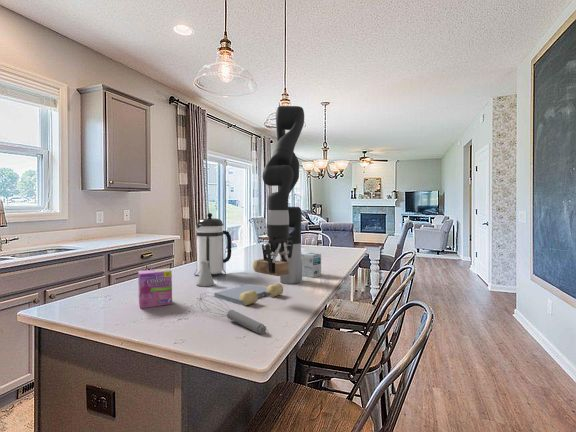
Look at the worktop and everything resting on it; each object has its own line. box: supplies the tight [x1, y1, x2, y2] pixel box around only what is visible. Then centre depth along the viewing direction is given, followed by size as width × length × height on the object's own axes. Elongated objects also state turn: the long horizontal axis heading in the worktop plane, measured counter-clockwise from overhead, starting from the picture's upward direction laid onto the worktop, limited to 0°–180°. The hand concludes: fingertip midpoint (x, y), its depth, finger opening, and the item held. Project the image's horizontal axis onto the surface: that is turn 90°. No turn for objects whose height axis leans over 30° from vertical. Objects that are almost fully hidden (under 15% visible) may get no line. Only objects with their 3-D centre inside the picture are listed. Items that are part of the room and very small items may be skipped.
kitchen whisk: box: [195, 291, 270, 336], centre depth 102 cm, size 6×34×6 cm, turn 46°
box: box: [137, 267, 173, 309], centre depth 118 cm, size 10×6×12 cm, turn 117°
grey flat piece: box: [213, 282, 284, 306], centre depth 128 cm, size 18×18×4 cm
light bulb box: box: [301, 251, 322, 278], centre depth 165 cm, size 11×7×11 cm, turn 49°
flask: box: [195, 261, 215, 287], centre depth 146 cm, size 7×7×10 cm
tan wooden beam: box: [252, 258, 289, 277], centre depth 121 cm, size 12×6×4 cm, turn 50°
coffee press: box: [194, 212, 232, 277], centre depth 165 cm, size 17×16×30 cm
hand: (278, 271), depth 118 cm, fingers closed on tan wooden beam, 5 cm apart
